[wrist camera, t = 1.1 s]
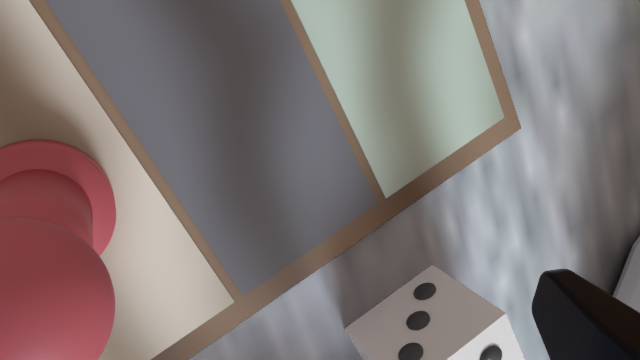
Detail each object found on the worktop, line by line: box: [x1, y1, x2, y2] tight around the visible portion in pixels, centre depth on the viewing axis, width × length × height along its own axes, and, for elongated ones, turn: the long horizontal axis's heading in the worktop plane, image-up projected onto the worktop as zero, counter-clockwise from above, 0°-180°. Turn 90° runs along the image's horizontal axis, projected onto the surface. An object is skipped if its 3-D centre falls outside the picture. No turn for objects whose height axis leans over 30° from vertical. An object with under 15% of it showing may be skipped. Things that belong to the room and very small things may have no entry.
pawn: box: [0, 139, 116, 360], centre depth 13 cm, size 4×4×10 cm
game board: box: [0, 0, 521, 360], centre depth 19 cm, size 22×16×1 cm
